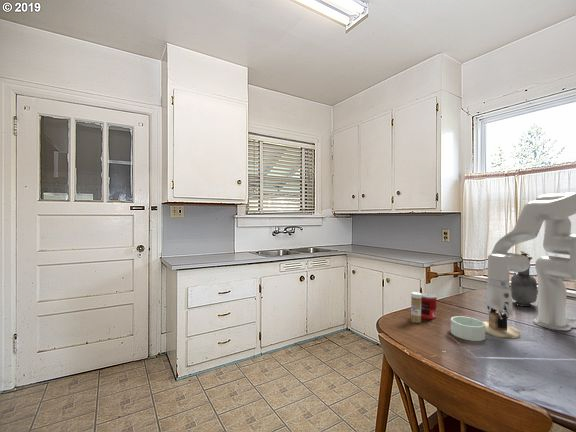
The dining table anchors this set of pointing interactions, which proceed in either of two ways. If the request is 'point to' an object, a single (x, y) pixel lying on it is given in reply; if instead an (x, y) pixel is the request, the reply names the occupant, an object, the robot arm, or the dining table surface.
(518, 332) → the lid
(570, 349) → the dining table surface
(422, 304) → the canned food
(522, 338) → the mat
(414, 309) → the sprinkles bottle
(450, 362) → the dining table surface
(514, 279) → the grey vase
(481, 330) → the bowl
